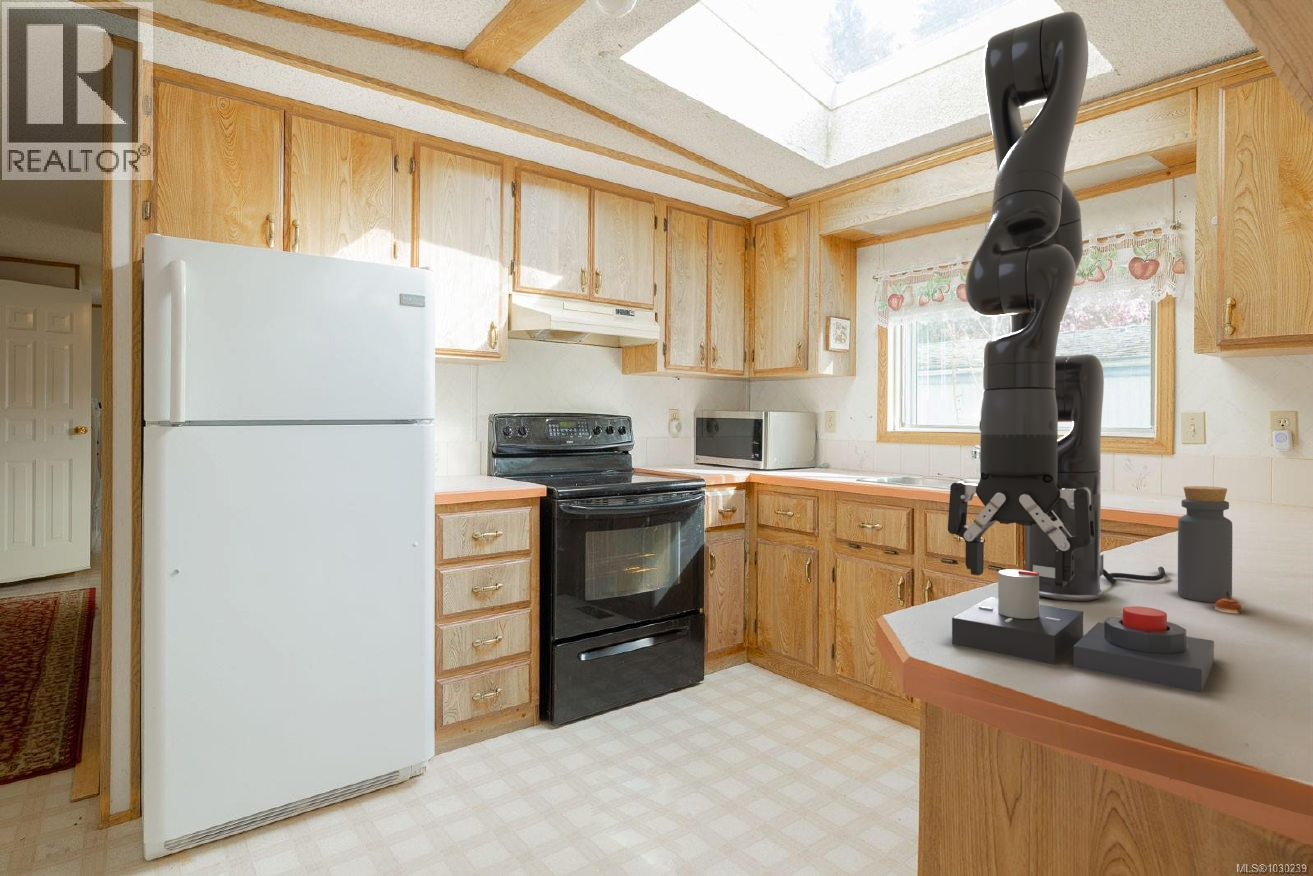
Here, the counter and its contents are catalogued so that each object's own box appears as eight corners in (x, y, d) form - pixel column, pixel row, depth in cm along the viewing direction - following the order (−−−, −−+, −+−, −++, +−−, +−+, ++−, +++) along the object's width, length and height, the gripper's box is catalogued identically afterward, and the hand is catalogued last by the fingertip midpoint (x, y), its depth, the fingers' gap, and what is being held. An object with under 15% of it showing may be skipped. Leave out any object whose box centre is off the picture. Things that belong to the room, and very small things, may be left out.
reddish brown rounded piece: (1208, 608, 90) (1208, 587, 90) (1226, 606, 91) (1226, 586, 91) (1231, 614, 88) (1231, 593, 88) (1250, 612, 88) (1250, 591, 88)
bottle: (1242, 603, 92) (1242, 489, 92) (1191, 602, 94) (1192, 489, 93) (1216, 593, 98) (1217, 485, 98) (1169, 591, 99) (1169, 485, 99)
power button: (1126, 621, 72) (1126, 604, 72) (1169, 627, 70) (1169, 610, 70) (1119, 628, 70) (1119, 611, 70) (1163, 636, 67) (1163, 617, 67)
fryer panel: (988, 621, 85) (988, 595, 85) (1083, 638, 79) (1083, 609, 79) (951, 645, 77) (951, 616, 77) (1054, 666, 70) (1054, 634, 70)
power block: (1097, 641, 77) (1098, 605, 77) (1213, 662, 70) (1214, 622, 70) (1073, 668, 69) (1073, 627, 69) (1201, 694, 62) (1201, 649, 62)
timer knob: (993, 614, 77) (993, 570, 77) (1004, 607, 80) (1004, 565, 80) (1033, 621, 75) (1033, 576, 75) (1043, 613, 78) (1043, 570, 78)
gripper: (1101, 431, 75) (1100, 583, 75) (963, 431, 85) (963, 566, 85) (1084, 431, 70) (1083, 595, 70) (939, 431, 79) (938, 575, 79)
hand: (1017, 579), depth 77 cm, fingers open, 8 cm apart
